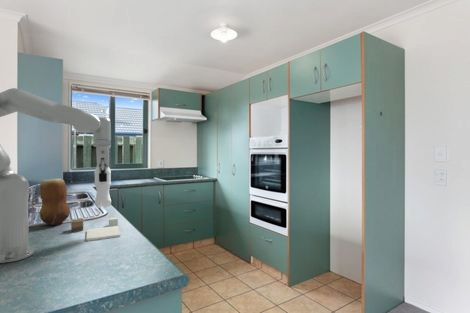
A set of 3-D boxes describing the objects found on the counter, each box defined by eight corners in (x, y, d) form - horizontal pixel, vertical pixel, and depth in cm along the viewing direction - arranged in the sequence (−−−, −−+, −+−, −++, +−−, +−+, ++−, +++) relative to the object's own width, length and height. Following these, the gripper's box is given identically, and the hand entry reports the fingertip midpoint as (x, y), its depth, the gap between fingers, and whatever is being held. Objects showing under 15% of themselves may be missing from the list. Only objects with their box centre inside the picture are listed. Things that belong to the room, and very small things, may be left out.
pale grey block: (117, 226, 143) (117, 218, 143) (109, 227, 141) (109, 219, 141) (117, 224, 146) (117, 217, 146) (109, 225, 144) (108, 218, 144)
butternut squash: (50, 221, 152) (49, 177, 152) (74, 220, 153) (73, 177, 153) (33, 228, 139) (32, 180, 138) (60, 227, 140) (59, 179, 139)
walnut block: (83, 230, 135) (82, 220, 135) (71, 232, 133) (71, 222, 133) (83, 228, 139) (83, 218, 139) (72, 229, 137) (72, 219, 137)
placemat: (120, 236, 126) (120, 234, 126) (86, 241, 119) (86, 239, 119) (118, 227, 140) (117, 225, 140) (87, 231, 134) (87, 229, 134)
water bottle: (93, 209, 125) (92, 155, 124) (96, 205, 132) (96, 154, 131) (109, 208, 127) (109, 155, 126) (112, 205, 134) (111, 154, 133)
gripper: (111, 143, 123) (112, 182, 123) (110, 144, 138) (110, 178, 138) (93, 143, 119) (93, 183, 120) (93, 143, 135) (94, 179, 135)
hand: (102, 180), depth 129 cm, fingers closed on water bottle, 7 cm apart
